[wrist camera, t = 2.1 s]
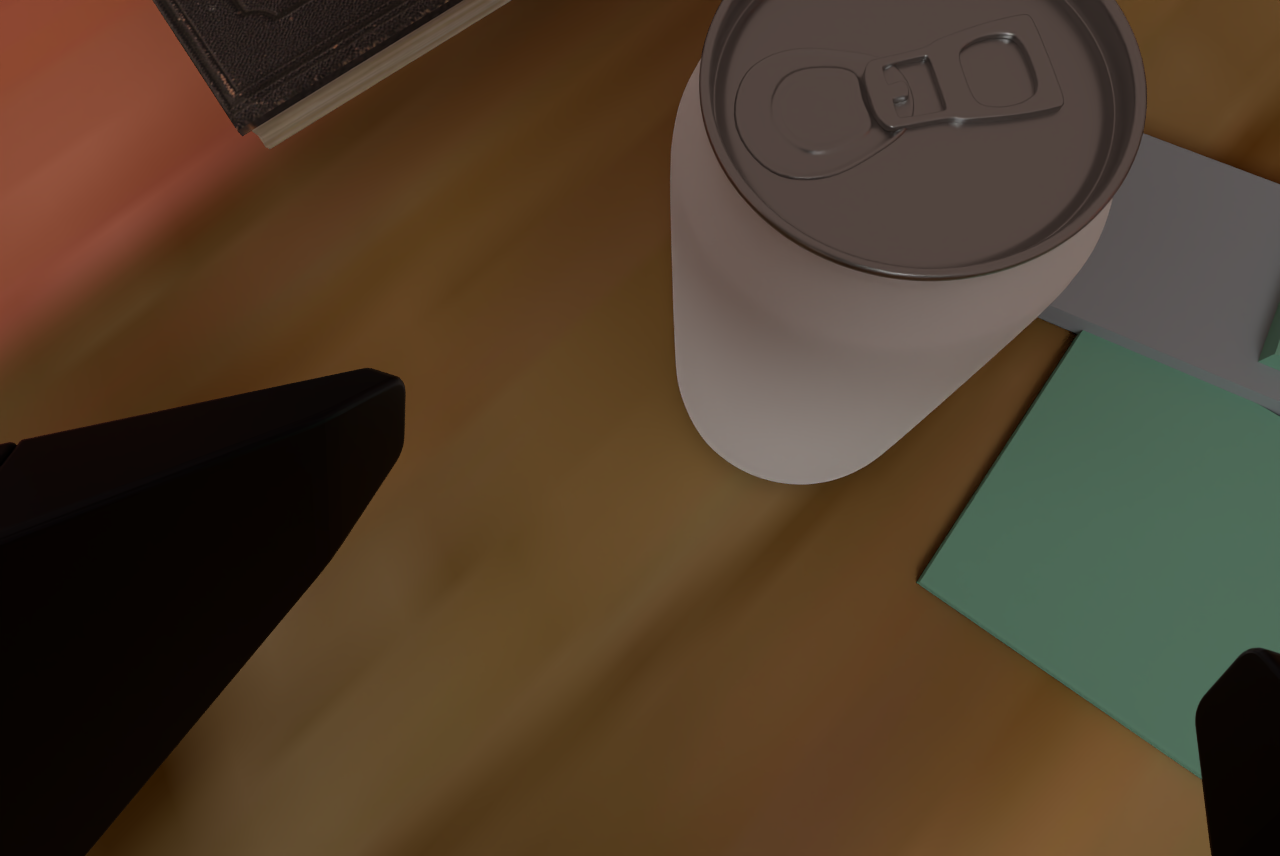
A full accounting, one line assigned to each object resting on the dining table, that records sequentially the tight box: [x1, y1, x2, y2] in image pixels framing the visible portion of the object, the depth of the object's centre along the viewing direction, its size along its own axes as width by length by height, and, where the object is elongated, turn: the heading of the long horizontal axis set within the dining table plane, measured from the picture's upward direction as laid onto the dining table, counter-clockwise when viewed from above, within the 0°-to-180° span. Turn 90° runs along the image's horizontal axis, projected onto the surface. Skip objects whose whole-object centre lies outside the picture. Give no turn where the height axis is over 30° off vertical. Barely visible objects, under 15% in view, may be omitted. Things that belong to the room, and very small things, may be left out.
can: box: [670, 0, 1147, 484], centre depth 16 cm, size 6×6×12 cm
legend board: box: [1038, 133, 1280, 416], centre depth 21 cm, size 18×6×1 cm, turn 63°
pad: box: [916, 330, 1280, 779], centre depth 20 cm, size 9×9×1 cm
